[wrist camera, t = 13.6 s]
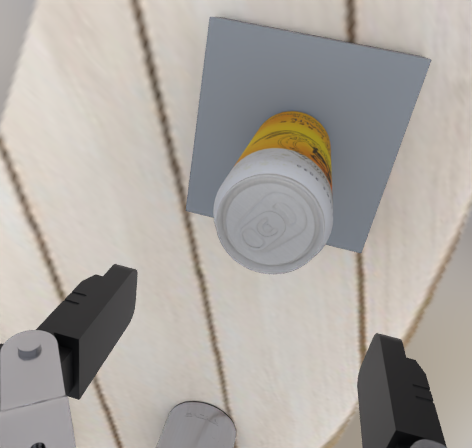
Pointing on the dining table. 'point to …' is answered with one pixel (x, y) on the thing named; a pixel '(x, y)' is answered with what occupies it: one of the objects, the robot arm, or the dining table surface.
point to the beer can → (278, 196)
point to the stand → (305, 111)
